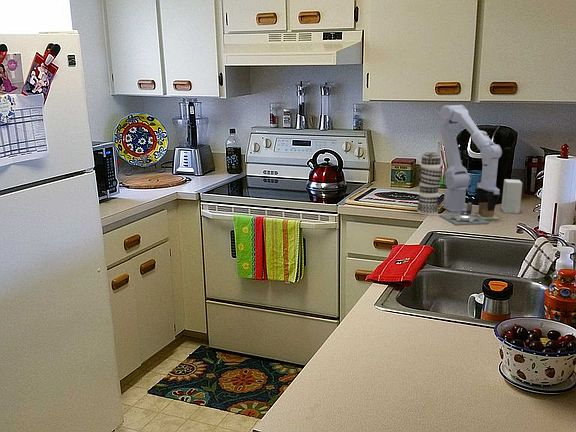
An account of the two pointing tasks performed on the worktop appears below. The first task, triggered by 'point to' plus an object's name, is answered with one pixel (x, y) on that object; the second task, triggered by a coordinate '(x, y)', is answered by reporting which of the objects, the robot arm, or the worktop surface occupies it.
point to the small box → (511, 196)
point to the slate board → (463, 221)
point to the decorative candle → (429, 183)
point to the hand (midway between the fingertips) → (486, 208)
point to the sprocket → (465, 214)
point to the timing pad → (489, 218)
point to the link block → (485, 210)
